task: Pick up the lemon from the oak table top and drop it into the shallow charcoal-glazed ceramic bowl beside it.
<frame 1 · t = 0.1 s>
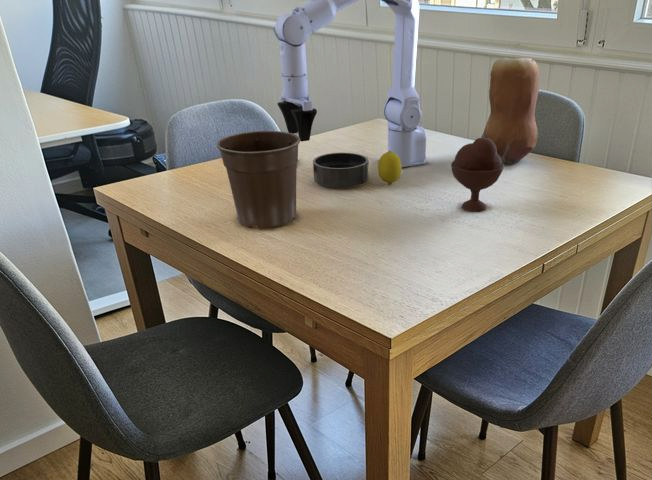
hand: (298, 136, 146), 10 cm above the table, tool pointing down, fingers open, 7 cm apart
plant pot: (266, 219, 130), on the table
ice cream bowl: (473, 208, 134), on the table
bowl: (341, 181, 150), on the table
lemon: (389, 185, 148), on the table
butternut squash: (507, 162, 162), on the table
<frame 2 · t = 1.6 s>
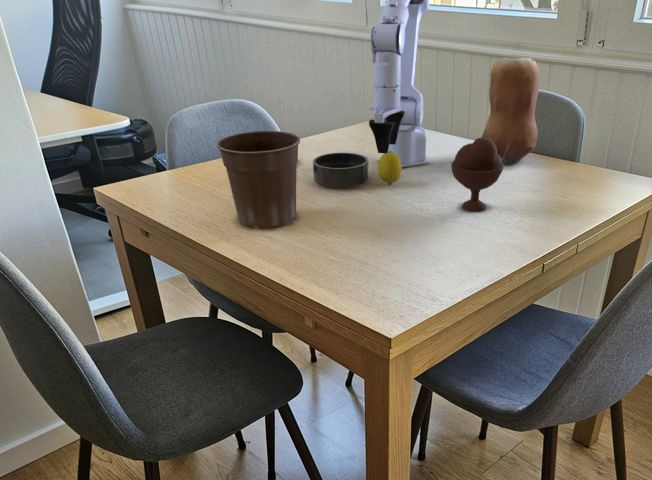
hand: (387, 148, 143), 9 cm above the table, tool pointing down, fingers open, 7 cm apart
nothing on the table moved.
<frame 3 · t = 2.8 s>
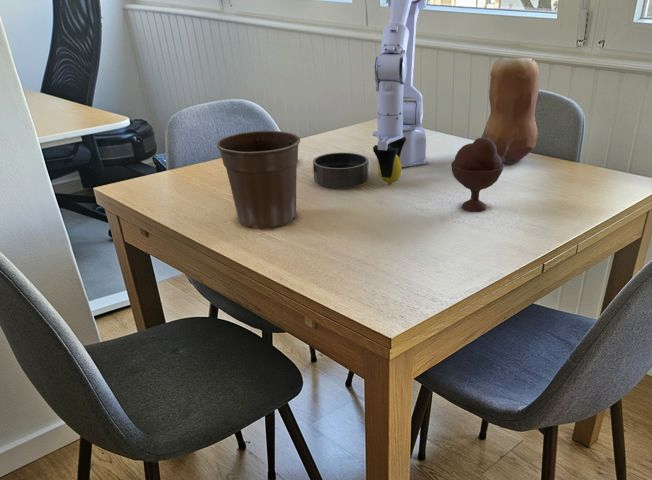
hand: (389, 173, 146), 3 cm above the table, tool pointing down, fingers closed on lemon, 5 cm apart
lemon: (389, 185, 148), on the table, touching gripper
everything else where it was.
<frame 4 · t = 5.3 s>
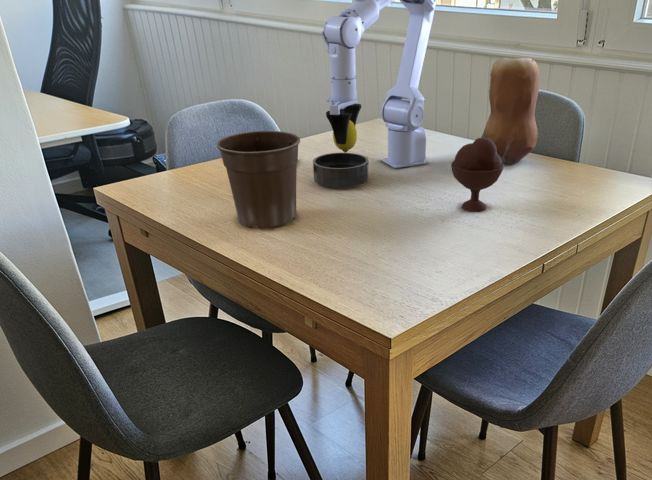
hand: (345, 140, 145), 10 cm above the table, tool pointing down, fingers closed on lemon, 5 cm apart
lemon: (345, 153, 146), point 7 cm above the table, touching gripper
everything else where it was.
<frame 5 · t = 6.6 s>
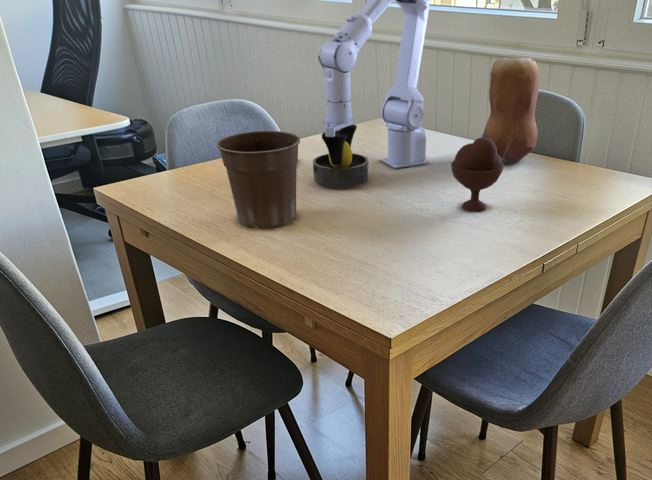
hand: (340, 160, 147), 5 cm above the table, tool pointing down, fingers closed on lemon, 5 cm apart
lemon: (341, 173, 149), point 2 cm above the table, touching gripper
everything else where it was.
when the fingers open (3 cm above the table, at t = 7.7 s): lemon stays where it is, resting on bowl.
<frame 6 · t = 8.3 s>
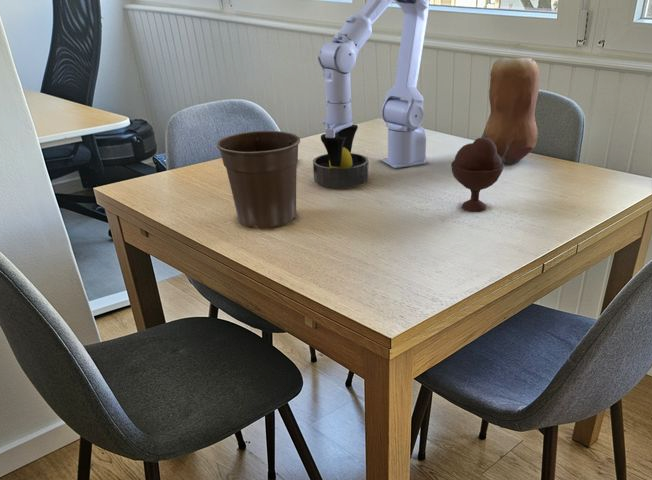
hand: (340, 161, 148), 5 cm above the table, tool pointing down, fingers open, 7 cm apart
lemon: (341, 179, 150), resting on bowl
everything else where it was.
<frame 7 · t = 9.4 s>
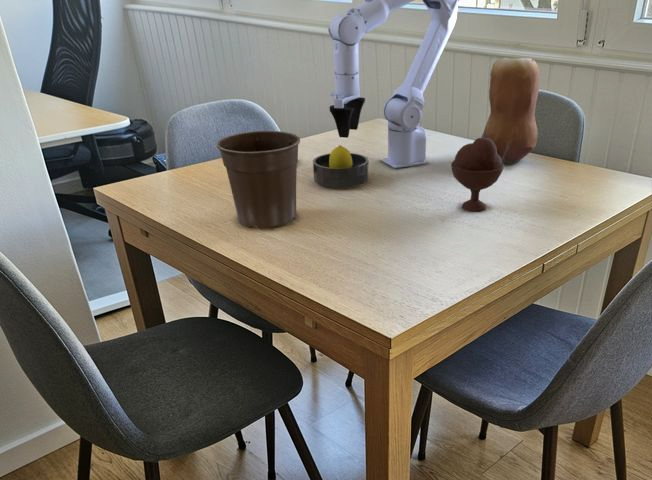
hand: (348, 133, 151), 9 cm above the table, tool pointing down, fingers open, 7 cm apart
nothing on the table moved.
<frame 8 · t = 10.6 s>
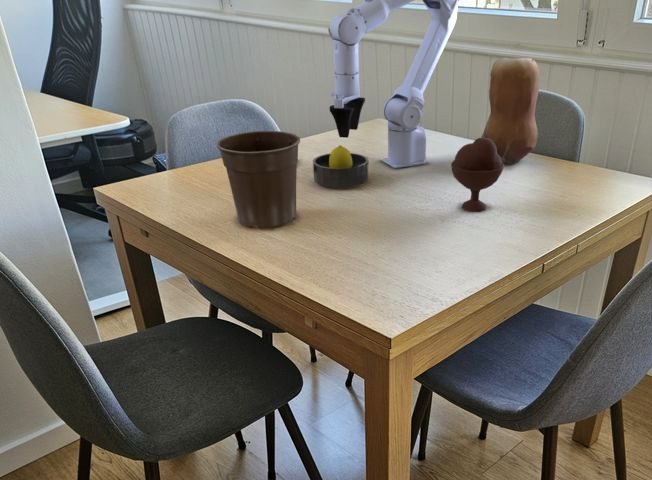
hand: (348, 133, 151), 9 cm above the table, tool pointing down, fingers open, 7 cm apart
nothing on the table moved.
at the end: lemon inside the target area in the bowl (0.1 cm from its centre), point 0.3 cm above the bowl's base; the gripper is holding nothing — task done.
